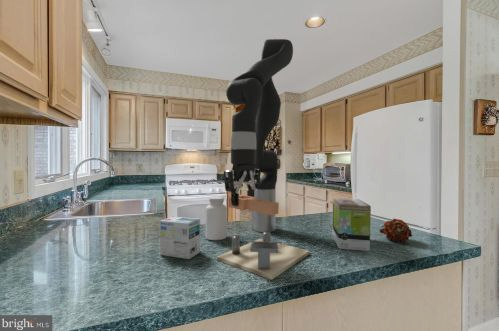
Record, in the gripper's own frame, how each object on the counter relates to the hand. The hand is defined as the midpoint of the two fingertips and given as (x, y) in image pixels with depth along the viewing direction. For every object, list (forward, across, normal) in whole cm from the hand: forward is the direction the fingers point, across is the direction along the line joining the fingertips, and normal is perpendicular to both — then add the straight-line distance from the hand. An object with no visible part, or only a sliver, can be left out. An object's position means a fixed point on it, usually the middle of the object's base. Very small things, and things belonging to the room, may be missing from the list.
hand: (243, 203), depth 73 cm
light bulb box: (+16, +11, -16) cm, 25 cm away
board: (+16, -4, +6) cm, 17 cm away
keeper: (+14, +3, +11) cm, 18 cm away
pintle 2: (+16, -8, +3) cm, 18 cm away
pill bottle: (+17, -6, -20) cm, 27 cm away
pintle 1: (+16, +2, -1) cm, 16 cm away
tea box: (+16, -34, +20) cm, 42 cm away
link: (+1, 0, +4) cm, 5 cm away
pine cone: (+16, -47, +31) cm, 59 cm away
